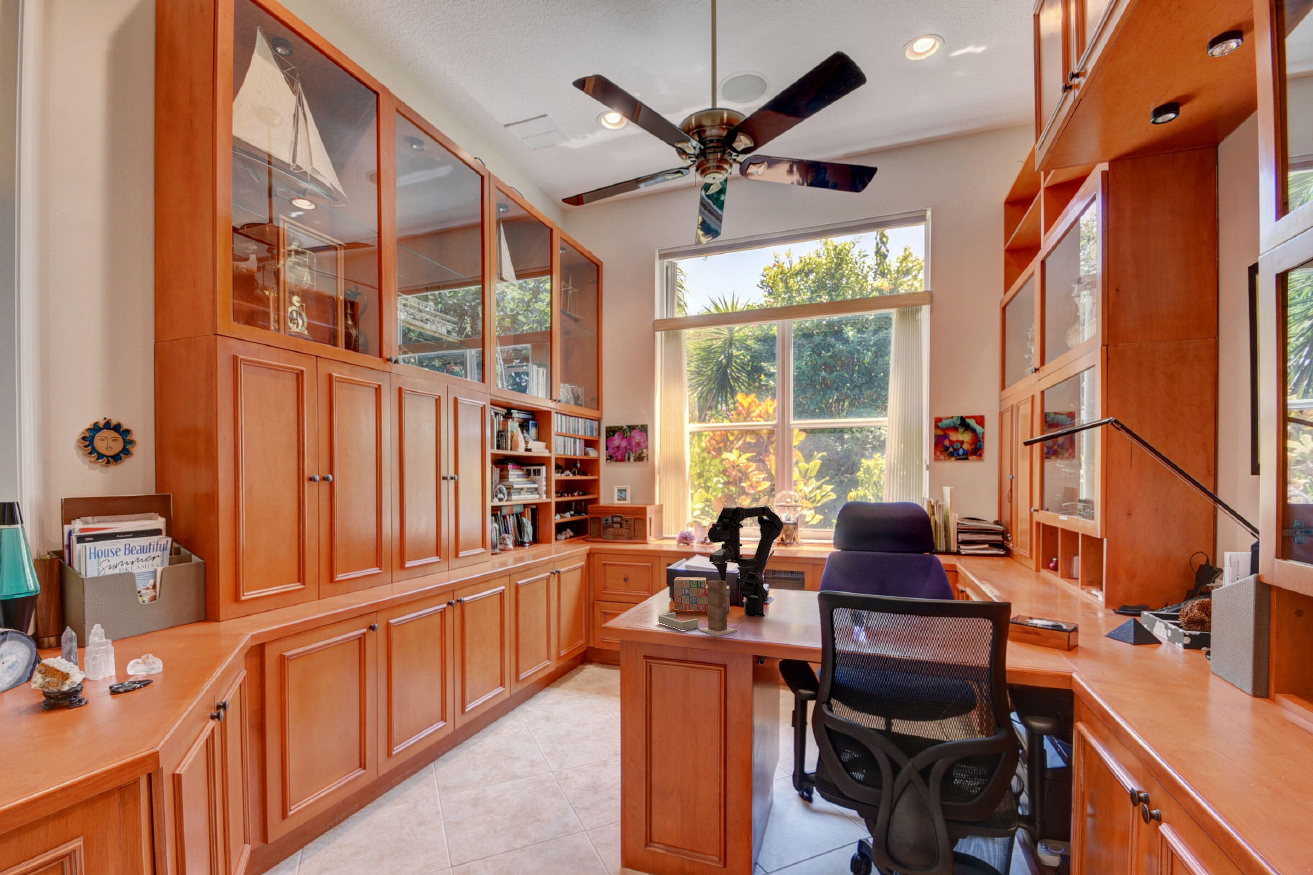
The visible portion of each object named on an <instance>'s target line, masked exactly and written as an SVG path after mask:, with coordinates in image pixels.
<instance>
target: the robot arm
mask: <svg viewBox="0 0 1313 875" xmlns="http://www.w3.org/2000/svg"><path fill="white" fill-rule="evenodd" d="M751 518H756V519H757V520H756V521H757V523H758V525H759V533H760V539H759V542H758V545H757V548H756V551H755V553H754V557H749V556H748V557H747V556H746V557H743V554H741V547H743V543H741V533H740V532H741V529H743V528H744V525H743V524H742V523H741V522H743V521H744V520H745V519H751ZM783 529H784V523H783V521H782V519H781V517H780V516H779V515H778V514H776V513H775V512H774V511H772V510H771V508H770V507H769V506H768V505H757V506H748V507H741V506H727V505H726V506H723V507H722V509H721V512H720V514H719V516H718V518H717V520H716V522H715V523H712V524H711V527H709V529H708V531H707V538H708V540H709V541H710V542H711V543H713V544H715V543H716V544H717V543H721V548H719V549H717V550H716V551H714V552H713V553H711V554H710V555H709V558H708V559H709V560H708V561H709V562H708V563H711V565H712V566H714V567H715V568H716V570H717V572H718V574H719V577H720V580H722V581H726V578H727V570H728V563H731V564H737V570H738V571H739V585H738V586H739V591H740V595H741V597H742V598H745V601H744V602H743V612H744V614H745V615H746V616H747V617H766V614H765V611H764V610H765V609H764V603H765V602H764V601H766V600H767V599H768V595H769V592H768V591H767V590H766V588H765V587H764V584H765V581H764V577H763V574H764V570H765V568H766V565H767V562H768V559H769V556H770V552H771V549H772V546H773V543H774V541H775V540H776V539H778V538H779V537H780V535H781V533H782V532H783Z"/></svg>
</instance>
